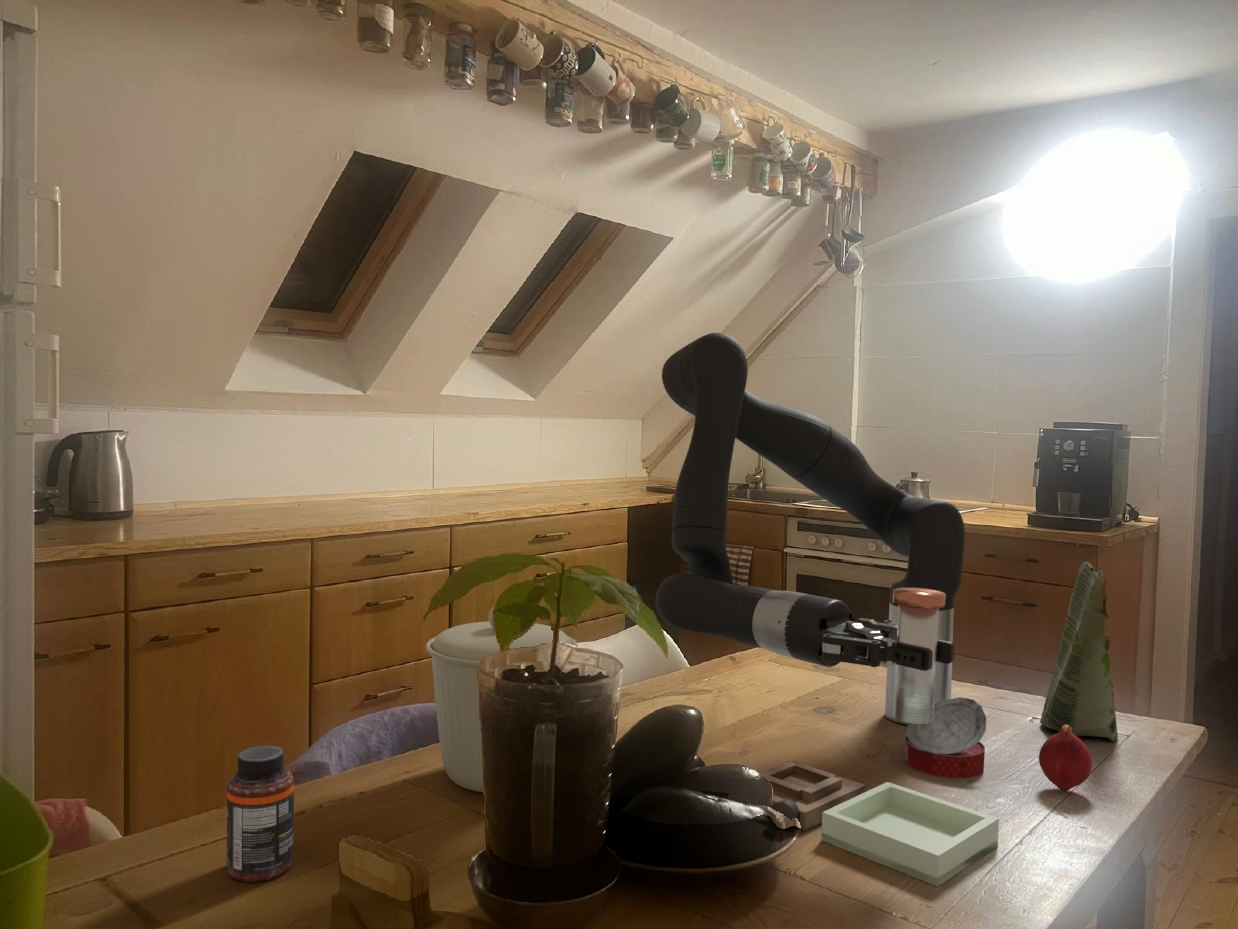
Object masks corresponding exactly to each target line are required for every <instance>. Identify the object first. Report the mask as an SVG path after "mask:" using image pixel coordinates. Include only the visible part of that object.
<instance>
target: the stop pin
mask: <svg viewBox="0 0 1238 929" xmlns="http://www.w3.org/2000/svg"><path fill="white" fill-rule="evenodd" d="M945 600H946V594H945V593H943V592H940V591H936V590H931V589H923V588H896V589H893V603H895V604H898V625H897V643H898V642H902V643H906V644H911V645H916V646H921V647H925V648H929V649H931V650H932V652H933V660H932V668H931V669H930V670H927V671H923V670H918V669H914V668H910V667H905V666H901V665H897V664H896V668H895V689H894V710H893V716H894V718H896V719H898V720H900V721H903V722H907V723H913V724H928V723H931V722H933V719H934V698H935V678H936V657H937V637H938V616H939V608H943V607H945Z"/></svg>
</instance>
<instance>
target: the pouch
mask: <svg viewBox="0 0 1238 929" xmlns="http://www.w3.org/2000/svg"><path fill="white" fill-rule="evenodd" d="M1106 582H1107V581H1106V575H1104V572H1103V570H1099V571H1098V570H1096V566H1095V565H1094V566H1093V564H1092V563H1091V562H1089V561H1084V562H1082V563H1081V564H1080V567H1079V568H1078V574H1077V577H1076V580H1075V584H1074V587H1073V592H1072V594H1071V597H1070V601H1069V603H1068V604H1069V606H1068V611H1067V615H1066V620H1065V625H1064V630H1063V632H1062V637H1061V641H1060V645H1059V649H1058V652H1057V656H1056V660H1055V664H1054V667H1053V670H1052V675H1051V679H1050V682H1049V686H1048V690H1047V694H1046V697H1045V701H1044V706H1043V710H1042V712H1041V717H1040V719H1039V722H1040V723H1039V724H1041V725H1042V726H1043V727H1045V728H1047V729H1051V730H1054V731H1056V732H1058V733H1059V732H1060V731H1061V730H1062V726H1064V725H1068V726H1070V727H1071V728H1072V729H1071V732H1072V733H1073V734H1074V735H1075V736H1077V737H1078V736H1086V737H1087V736H1088V737H1098V738H1106V739H1108V741H1111V742H1116V741H1117V739H1118V737H1119V735H1118V726H1117V724H1118V723H1117V718H1116V717H1117V716H1116V707H1115V704H1114V702H1115V694H1114V690H1113V689H1114V688H1113V686H1114V685H1113V681H1112V678H1111V659H1110V656H1109V653H1108V650H1110V646H1111V645H1110V642H1111V636H1110V635H1109V634H1108V633H1107V632H1106V631H1105V623H1106V621H1107V620H1108V619H1110V616H1109V614H1108V613H1107V608H1106V602H1107V592H1106V586H1107V583H1106Z"/></svg>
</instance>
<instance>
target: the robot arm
mask: <svg viewBox="0 0 1238 929" xmlns="http://www.w3.org/2000/svg"><path fill="white" fill-rule="evenodd" d="M748 368H749V367H748V359H747V355H746V354H745V350H744V348H743V347H742V346H741V344H740V343H739V342H738V341H737V340H736V339H735V337H734V338H733V336H731V335H729V334H726V333H723V332H711V333H707V334H705V335H702V336H699V337H698V338H697V339H695V340H693V341H691V342H689V343H688V344H686V345H684V346H683V347H681V348H680V349H678V350H677V351H675V352H674V353H673V354H672V355H670V356H669V358H667V359H666V361H664V364H663V366H662V370H661V380H662V384H663V385H662V386H663V387H664V390H665V391H666V393H667V395H668V397H669V398H670V399H671V400H672V401H673V402H674V403H675V404H677V406H678V407H680V408H681V409H683V410H685V411H686V412H687V413H689V414H691V415H693V416H694V417H695V418H694V423H693V424H694V426H693V430H692V435H691V439H690V442H689V446H688V449H687V452H686V455H685V458H684V461H683V463H682V466H681V469H680V473H679V475H678V480H677V483H676V487H675V493H674V497H673V499H674V500H673V507H672V508H673V512H672V525H671V545H672V546H671V547H672V549H673V551H674V552H675V553H676V554H677V555H679V557H681V558H683V560H685V562H686V564H687V567H688V573H687V572H678V573H674V574H671V575H669V576H668V577H666V578H665V579H664V580H663V581H662V582H661V583H660V585H659V586H658V588H657V590H656V593H655V599H654V601H655V608H656V611H657V613H658V615H659V616H660V618H661V619H662V620H663V621H664V622H665V624H667V625H668V626H670V627H672V628H675V629H679V630H684V631H690V632H694V633H695V632H696V633H699V634H706V635H712V636H720V637H721V638H722V637H723V638H726V639H730V640H732V641H734V642H737V643H740V644H744V645H746V646H751V647H756V648H758V649H759V648H760V649H762V650H767V651H769V652H771V653H773V654H776V655H780V656H782V657H786V658H790V659H795V660H799V661H802V662H807V663H810V664H814V665H819V666H823V667H827V668H829V667H835V666H837V665H838V664H840V663H846V664H853V665H860V666H867V667H871V668H877V667H878V668H879V667H880V666H881V664H882V665H885V666H887V667H886V684H885V708H884V709H885V710H884V711H885V712H884V714H885V717H887V719H889V720H891V721H893V722H895V723H899V724H902V725H906V726H908V724H909V723H907V722H903V721H900V720H898V719H896V718H894V716H893V710H894V689H895V668H896V664H897V665H901V666H905V667H910V668H914V669H918V670H923V671H927V670H930V669H931V668H932V660H933V652H932V650H931V649H929V648H925V647H921V646H916V645H911V644H906V643H902V642H898V643H897V625H898V604H895V603H893V589H896V588H923V589H931V590H936V591H940V592H943V593H945V594H946V600H945V607H943V608H939V616H938V637H937V657H936V678H935V698H934V704H936V703H938V702H940V701H943V700H948V699H952V682H953V681H952V680H953V662H954V661H955V648H956V646H955V644H954V642H953V639H954V637H953V636H954V618H955V616H954V614H955V613H954V612H955V608H954V607H955V600H956V599H955V598H956V596H957V593H958V592H959V590H960V588H961V587H960V586H961V584H962V583H961V582H962V573H963V564H964V556H965V555H964V552H965V544H966V543H965V542H966V538H965V537H966V532H965V524H964V520H963V516H962V514H961V513H960V511H959V509H958V508H957V506H955V505H954V504H952V503H950V502H948V501H945V500H941V499H935V498H926V497H921V496H915V495H912V494H910V493H907V492H905V491H903V490H901V489H900V488H897V487H896V486H894V485H893V484H891V483H890V482H888V481H886V480H885V479H883V478H882V477H881V476H879V475H878V474H877V473H876V472H875V471H874V469H872V467H871V466H870V464H869V463H868V460H866V457H865V456H864V454H863V453H862V451H861V450H860V449H859V448H858V447H857V446H856V445H855V443H854V442H853V441H851V439H849V438H848V437H847V436H845V435H844V434H843V433H842V432H840V431H839V430H837V429H836V428H835V427H833V426H831V424H829V423H827V422H826V421H825V420H823V419H821V417H820V418H819V417H818V416H815V415H813V414H812V413H808V412H806V411H803V410H800V409H797V408H794V407H790V406H786V405H783V404H779V403H775V402H774V401H769V400H766V399H764V398H761V397H759V396H756V395H755V394H754V393H751V392H750V391H748V390H747V389H746V387H747V383H748V382H747V380H748V374H749V373H748V372H749V371H748V370H749V369H748ZM736 440H738V441H739V442H741V443H742V444H744V446H746V447H748V448H749V449H751V450H752V451H753V452H755V453H757V454H758V455H759V456H761V457H763V458H764V459H766V460H767V461H768V462H770V463H772V464H773V465H775V466H776V467H777V468H779V469H780V470H781V471H782V472H784V473H785V474H786V475H788V476H789V477H791V478H792V479H794V480H795V481H796V482H797V483H800V485H802V486H804V487H805V488H806V489H808V490H810V491H811V492H813V493H815V494H816V495H818V496H820V497H821V498H822V499H824V500H825V501H827V502H829V503H831V504H832V505H834V506H836V507H837V508H839V509H841V510H842V511H845V512H846V513H847V514H849V515H851V516H852V517H854V518H855V519H856V520H858V521H859V522H860V523H861V524H862V525H864V526H865V527H866V528H867V529H868V530H870V532H872V533H873V535H875V536H876V537H877V538H878V539H879V540H881V541H882V542H883V544H885V545H887V547H889V548H890V549H891V550H892V551H893V552H896V553H898V554H899V555H902V556H904V557H907V558H908V561H907V570H906V574H905V576H904V577H903V578H902V579H900V580H898V581H895V582H893V583H892V584H891V585H890V590H889V608H888V609H889V610H888V619H886V620H885V619H884V622H877V621H876V620H875V619H873V618H872V619H871V618H865V617H860V618H858V621H856V620H855V618H854V616H853V614H852V612H851V610H850V608H849V606H848V605H847V604H846V603H845V602H844V601H842V600H840V599H835V598H829V597H825V596H820V595H815V594H808V593H803V592H798V591H791V590H777V589H776V590H774V589H770V588H764V587H759V586H754V585H753V586H752V585H743V584H742V585H741V584H739V585H738V584H734V581H733V575H732V570H731V563H730V560H729V555H728V552H727V547H726V539H727V538H726V537H727V515H728V493H729V482H730V472H731V467H732V465H731V464H732V460H733V453H734V448H735V442H736Z"/></svg>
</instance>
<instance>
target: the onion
mask: <svg viewBox="0 0 1238 929" xmlns="http://www.w3.org/2000/svg"><path fill="white" fill-rule="evenodd" d="M1071 729H1072V728H1071V727H1070V726H1068V725H1064V726H1062V730H1061V731H1060V732H1059V731H1058V732H1057V733H1055V734H1053V735H1051V736H1049V737H1048V738H1047V739H1046V740H1045V741H1044V743H1043V744H1042V746H1041V748H1040V749H1039V753H1038V754H1039V755H1038V762H1039V767H1040V769H1041V771H1042V773H1043V775H1044V776H1045V777H1046V778H1047V779H1048V781H1050V782H1051V783H1052V784H1053V785H1055V787H1057V789H1059V790H1060V791H1063V792H1067V791H1069V790H1071V789H1073V788H1075V787H1078V786H1079V785H1081V784H1082V783H1084V782H1085V781H1086V780H1087V779H1088V777H1089V776H1090V773H1091V772H1092V767H1093V759H1092V755H1091V752H1090V750H1089V749H1088V746H1087V745H1086V744H1085V743H1084V742H1083V741H1082V739H1080V737H1078V736H1075V735H1074V734H1073V733H1072V732H1071Z"/></svg>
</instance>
